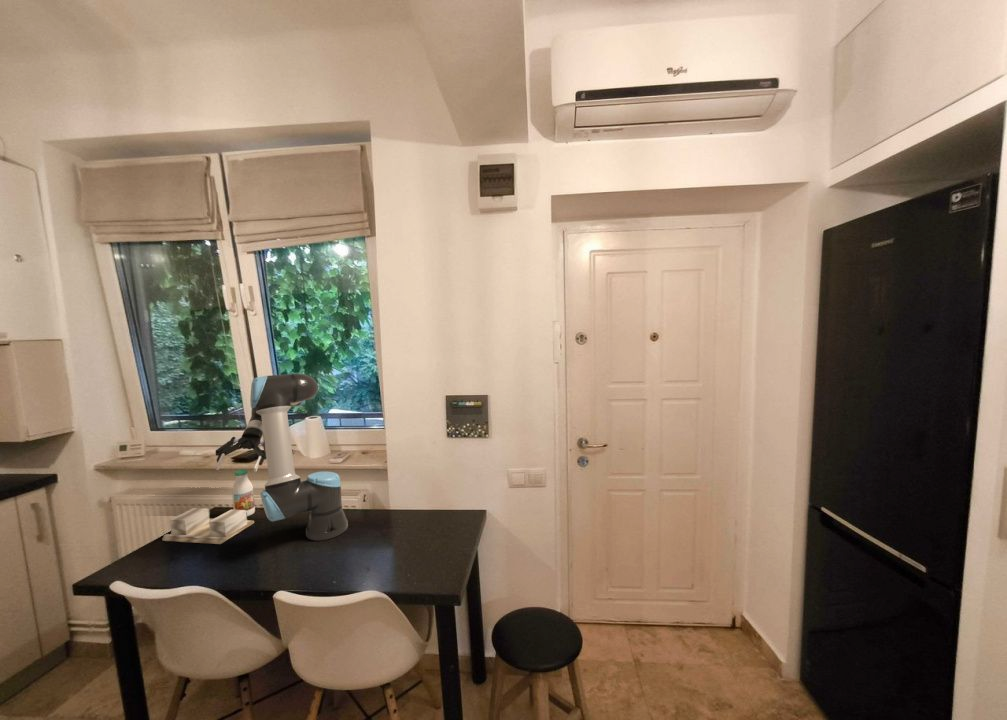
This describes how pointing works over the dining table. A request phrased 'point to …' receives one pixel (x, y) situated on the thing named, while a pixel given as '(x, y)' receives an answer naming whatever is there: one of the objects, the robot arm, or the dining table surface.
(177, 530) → the rail board
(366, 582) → the dining table surface
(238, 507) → the milk bottle
